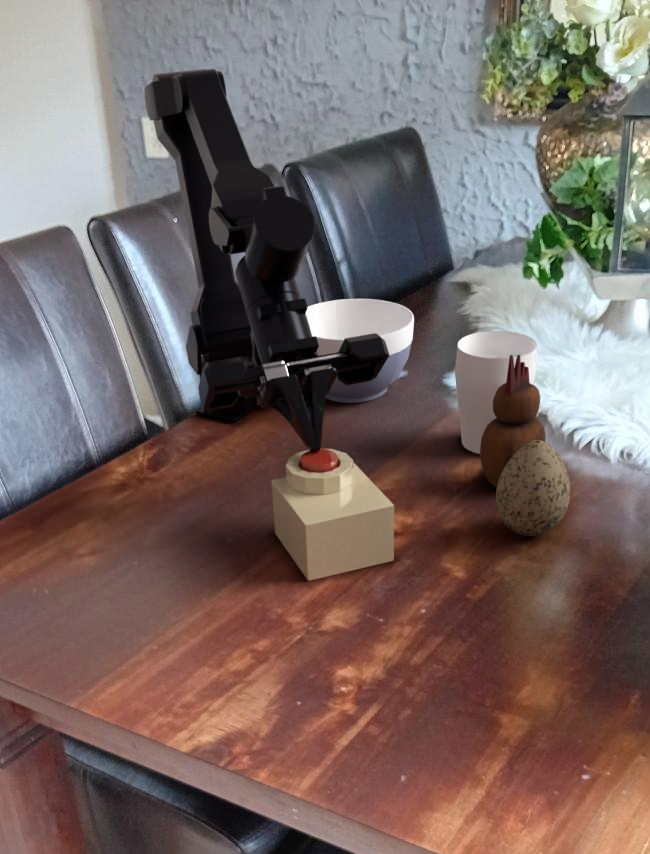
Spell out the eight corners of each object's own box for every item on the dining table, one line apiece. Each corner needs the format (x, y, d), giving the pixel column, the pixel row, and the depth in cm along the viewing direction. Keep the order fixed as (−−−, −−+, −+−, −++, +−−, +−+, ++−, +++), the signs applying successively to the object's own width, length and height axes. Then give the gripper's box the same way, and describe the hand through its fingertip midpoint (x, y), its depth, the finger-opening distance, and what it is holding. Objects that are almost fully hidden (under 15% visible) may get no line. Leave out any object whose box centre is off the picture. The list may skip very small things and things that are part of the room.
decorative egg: (479, 525, 103) (485, 435, 97) (537, 508, 105) (546, 419, 100) (519, 557, 98) (528, 464, 92) (580, 538, 100) (592, 447, 94)
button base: (271, 528, 105) (265, 458, 100) (350, 510, 107) (349, 441, 102) (308, 581, 96) (304, 507, 92) (393, 561, 99) (394, 488, 94)
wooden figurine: (500, 501, 107) (511, 365, 98) (469, 480, 111) (476, 348, 103) (551, 484, 109) (566, 351, 101) (518, 465, 114) (530, 334, 105)
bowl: (309, 421, 126) (306, 346, 121) (281, 376, 139) (277, 307, 133) (429, 403, 129) (431, 329, 123) (391, 361, 141) (391, 292, 136)
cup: (528, 462, 114) (538, 360, 107) (448, 459, 116) (453, 358, 109) (529, 429, 121) (538, 331, 114) (454, 426, 123) (458, 329, 116)
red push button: (296, 468, 100) (295, 453, 99) (330, 461, 101) (329, 446, 100) (309, 484, 98) (308, 467, 97) (343, 476, 99) (342, 460, 98)
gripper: (341, 331, 111) (381, 462, 109) (178, 359, 107) (215, 496, 104) (368, 277, 100) (412, 421, 98) (187, 306, 96) (229, 457, 94)
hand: (316, 451), depth 99 cm, fingers closed, pressing on red push button
